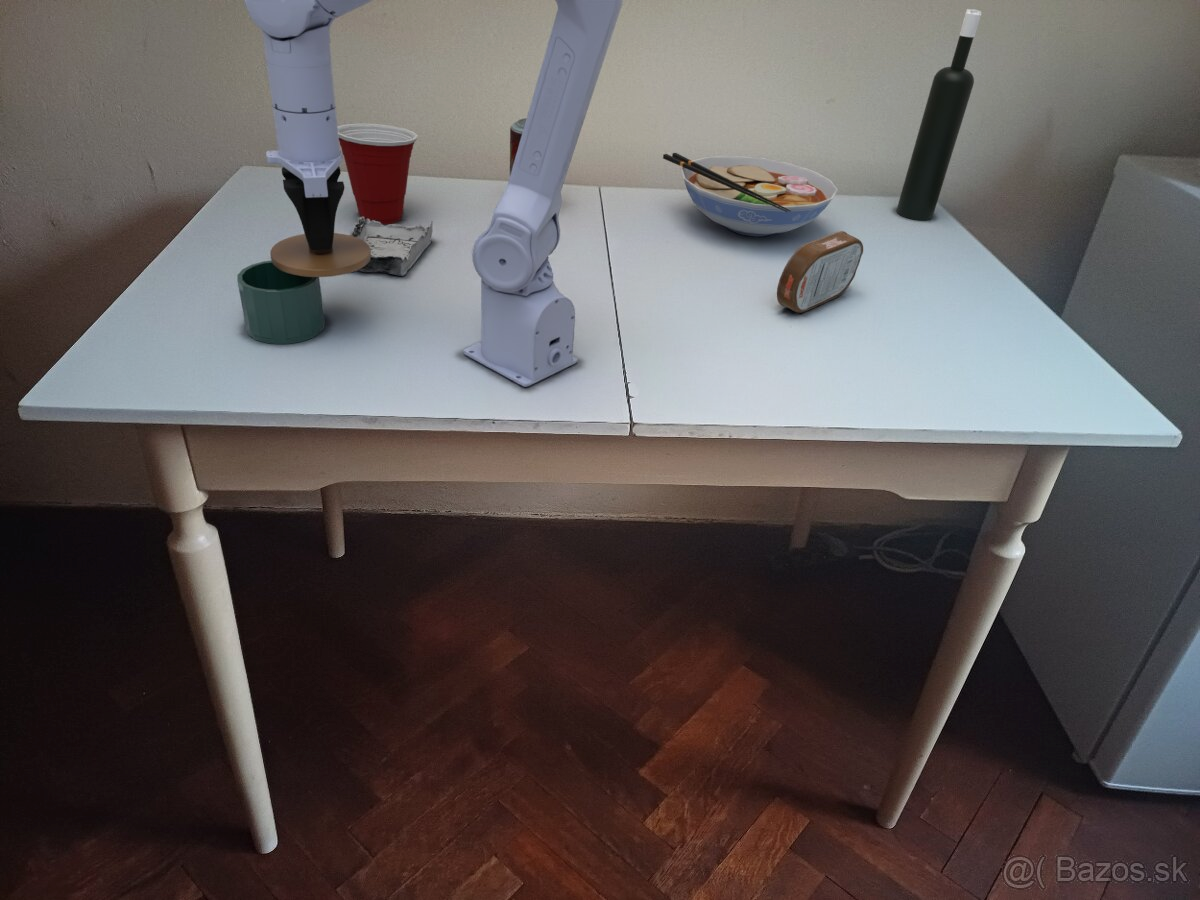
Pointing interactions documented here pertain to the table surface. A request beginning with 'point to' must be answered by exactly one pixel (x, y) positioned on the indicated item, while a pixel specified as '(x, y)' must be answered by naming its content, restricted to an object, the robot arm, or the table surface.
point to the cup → (280, 304)
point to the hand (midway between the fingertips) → (320, 242)
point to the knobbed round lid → (320, 256)
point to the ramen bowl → (755, 192)
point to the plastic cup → (377, 168)
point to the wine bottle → (939, 129)
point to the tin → (819, 271)
